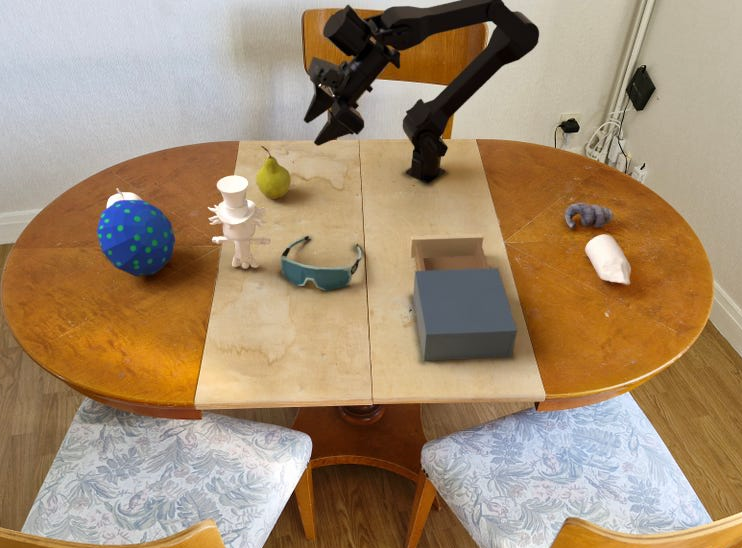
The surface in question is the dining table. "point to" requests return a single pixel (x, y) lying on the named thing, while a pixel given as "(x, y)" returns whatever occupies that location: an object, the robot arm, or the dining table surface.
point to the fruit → (273, 178)
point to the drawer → (448, 252)
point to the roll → (608, 259)
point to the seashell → (588, 215)
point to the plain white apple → (122, 197)
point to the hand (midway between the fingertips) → (310, 132)
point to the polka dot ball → (136, 237)
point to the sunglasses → (317, 271)
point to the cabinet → (463, 314)
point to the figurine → (238, 219)
